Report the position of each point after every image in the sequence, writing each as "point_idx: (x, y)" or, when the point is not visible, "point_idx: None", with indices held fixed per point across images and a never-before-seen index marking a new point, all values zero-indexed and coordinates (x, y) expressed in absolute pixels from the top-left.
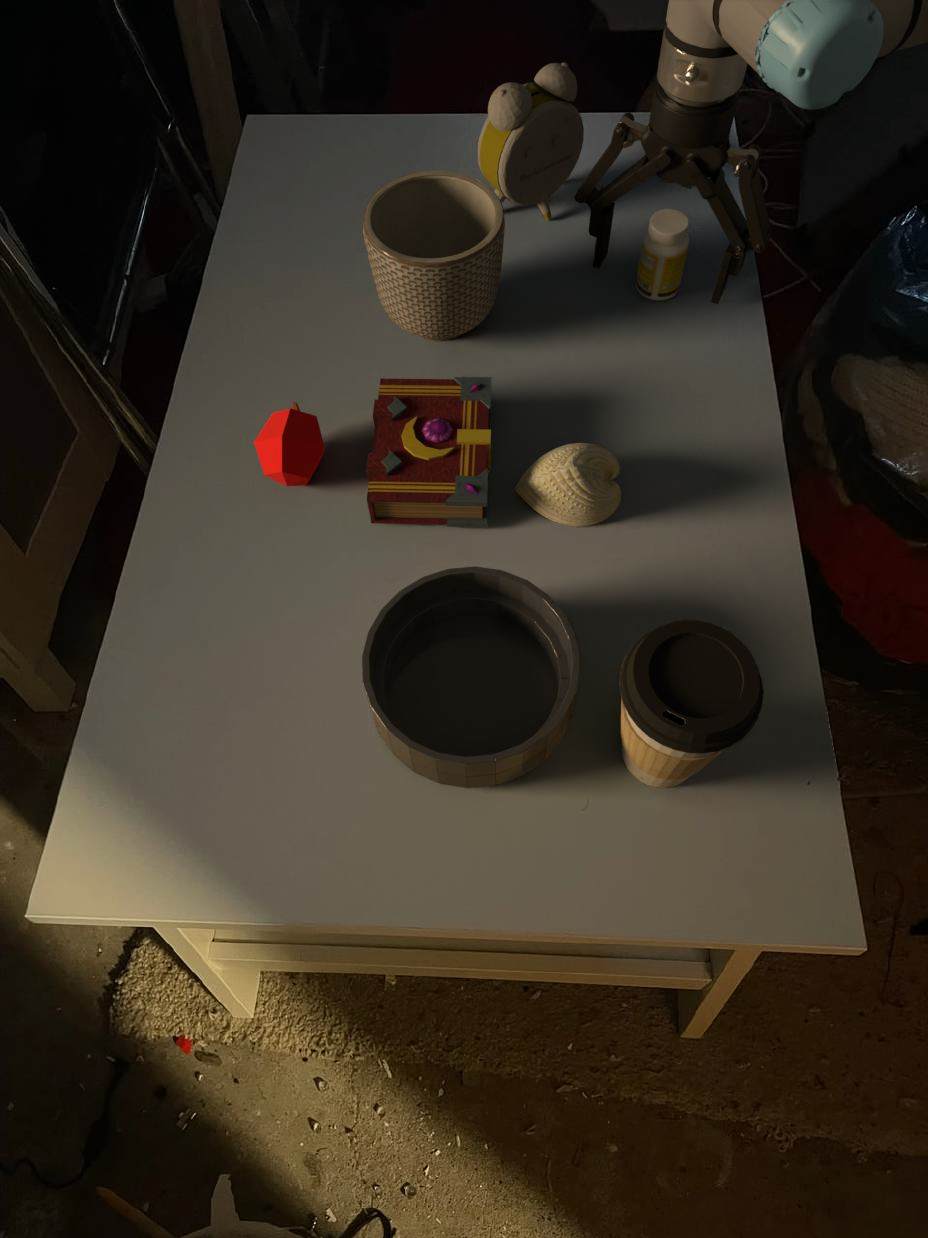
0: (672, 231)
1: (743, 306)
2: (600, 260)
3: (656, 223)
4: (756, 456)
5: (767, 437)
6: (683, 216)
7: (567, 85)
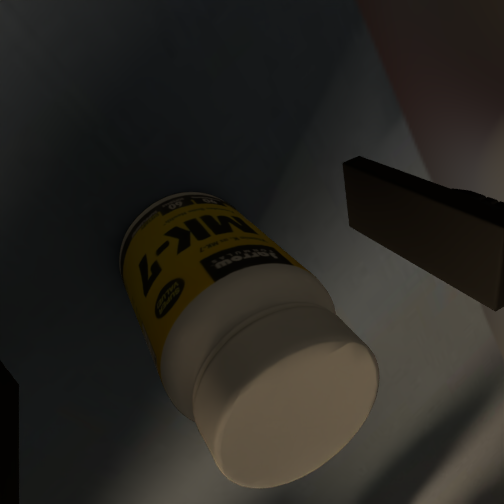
0: (341, 437)
1: (389, 139)
2: (16, 403)
3: (266, 472)
4: (482, 371)
5: (489, 341)
6: (341, 354)
7: None
